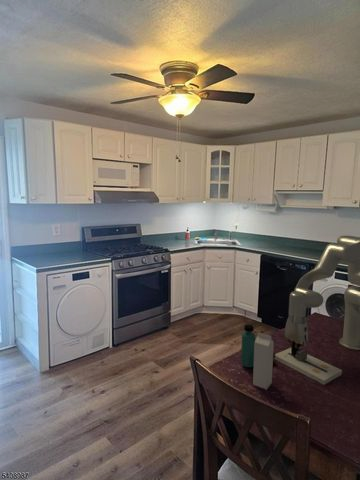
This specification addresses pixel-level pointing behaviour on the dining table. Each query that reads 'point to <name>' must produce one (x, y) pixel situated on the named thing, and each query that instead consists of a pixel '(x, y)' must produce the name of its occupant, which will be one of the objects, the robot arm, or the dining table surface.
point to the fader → (301, 355)
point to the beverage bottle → (248, 346)
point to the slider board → (309, 366)
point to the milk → (263, 361)
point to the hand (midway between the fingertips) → (294, 354)
